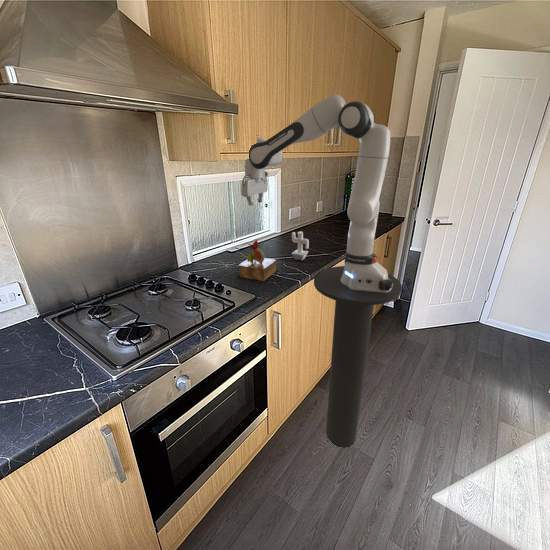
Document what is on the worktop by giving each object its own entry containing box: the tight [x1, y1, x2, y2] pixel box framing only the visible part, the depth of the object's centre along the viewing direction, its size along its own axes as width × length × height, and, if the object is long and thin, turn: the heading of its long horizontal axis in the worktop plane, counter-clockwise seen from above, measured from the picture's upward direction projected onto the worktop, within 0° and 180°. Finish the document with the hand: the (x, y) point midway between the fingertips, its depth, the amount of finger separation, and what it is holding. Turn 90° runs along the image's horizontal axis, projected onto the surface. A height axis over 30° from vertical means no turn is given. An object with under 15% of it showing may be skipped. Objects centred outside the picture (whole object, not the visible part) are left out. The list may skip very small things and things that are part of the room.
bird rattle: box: [246, 239, 266, 264], centre depth 137 cm, size 6×11×9 cm
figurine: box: [291, 231, 310, 261], centre depth 158 cm, size 7×9×15 cm
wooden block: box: [237, 257, 277, 282], centre depth 141 cm, size 14×14×6 cm
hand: (255, 203), depth 143 cm, fingers open, 8 cm apart
